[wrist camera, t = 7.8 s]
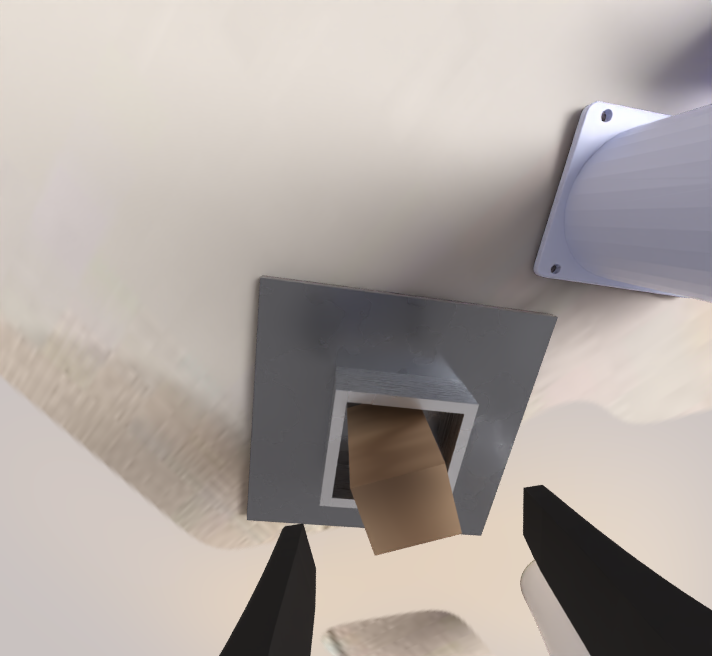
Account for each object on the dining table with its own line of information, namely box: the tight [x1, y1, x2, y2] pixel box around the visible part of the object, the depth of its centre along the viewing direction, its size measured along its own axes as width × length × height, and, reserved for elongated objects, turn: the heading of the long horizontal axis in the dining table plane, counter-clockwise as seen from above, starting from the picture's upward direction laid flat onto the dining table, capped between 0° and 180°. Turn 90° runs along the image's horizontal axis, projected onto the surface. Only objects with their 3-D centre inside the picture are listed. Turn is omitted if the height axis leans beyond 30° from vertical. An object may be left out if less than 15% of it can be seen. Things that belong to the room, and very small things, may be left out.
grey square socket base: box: [247, 276, 558, 535], centre depth 19 cm, size 16×16×3 cm
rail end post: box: [347, 404, 462, 555], centre depth 17 cm, size 4×4×6 cm
